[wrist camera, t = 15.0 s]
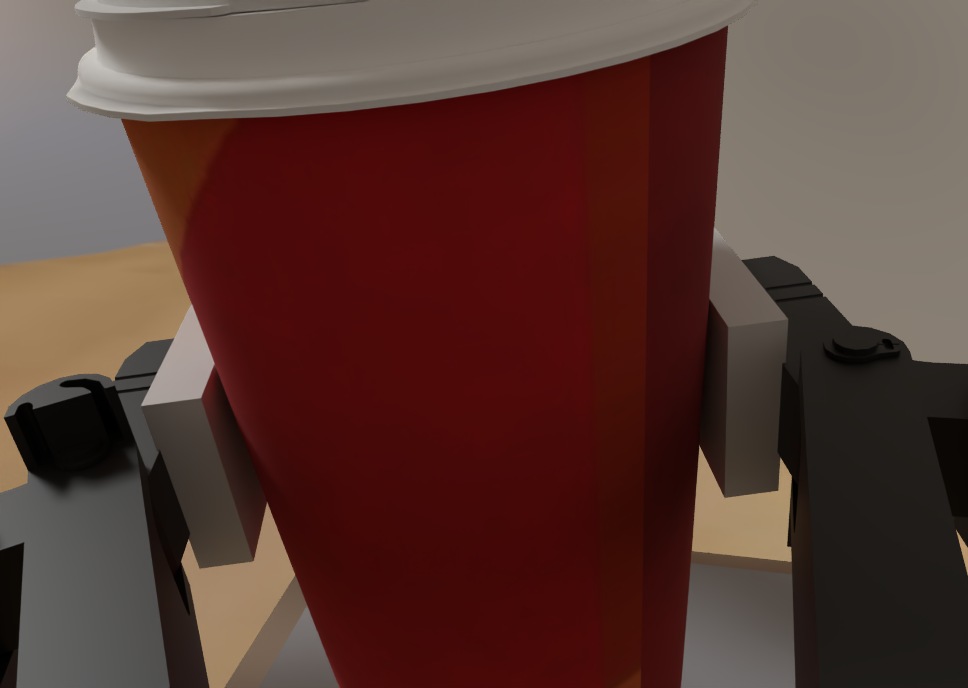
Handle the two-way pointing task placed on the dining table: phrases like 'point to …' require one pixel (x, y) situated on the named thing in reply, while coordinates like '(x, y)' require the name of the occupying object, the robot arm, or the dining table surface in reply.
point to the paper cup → (449, 306)
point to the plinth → (708, 638)
